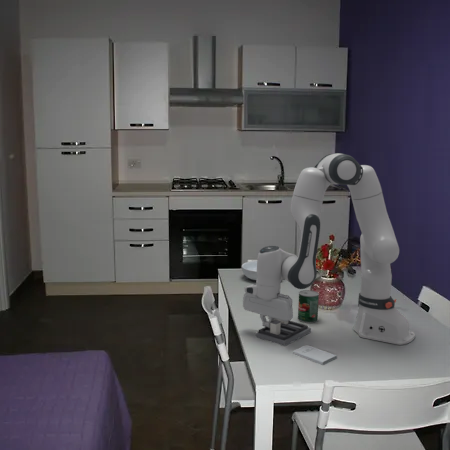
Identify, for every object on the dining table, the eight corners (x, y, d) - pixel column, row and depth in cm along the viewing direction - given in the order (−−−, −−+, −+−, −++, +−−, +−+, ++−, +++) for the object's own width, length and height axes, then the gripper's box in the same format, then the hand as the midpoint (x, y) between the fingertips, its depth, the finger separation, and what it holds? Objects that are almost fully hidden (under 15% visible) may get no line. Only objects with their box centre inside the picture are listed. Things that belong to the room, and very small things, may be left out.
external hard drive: (322, 366, 186) (292, 354, 195) (336, 359, 192) (307, 348, 200) (322, 362, 186) (292, 350, 194) (337, 355, 191) (307, 344, 200)
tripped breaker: (280, 333, 207) (280, 321, 207) (275, 336, 205) (276, 323, 204) (274, 332, 209) (275, 319, 208) (270, 334, 207) (270, 321, 206)
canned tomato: (320, 318, 229) (322, 292, 227) (312, 324, 222) (313, 297, 220) (302, 314, 233) (304, 288, 231) (294, 320, 227) (295, 293, 225)
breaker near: (288, 323, 218) (288, 311, 217) (284, 325, 216) (284, 313, 215) (283, 321, 220) (283, 310, 219) (278, 324, 217) (279, 312, 216)
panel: (310, 331, 214) (311, 325, 214) (284, 346, 201) (284, 339, 200) (281, 323, 222) (282, 317, 222) (254, 336, 209) (255, 330, 208)
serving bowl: (237, 274, 292) (237, 261, 290) (277, 272, 296) (277, 260, 294) (246, 285, 272) (246, 271, 270) (288, 284, 275) (289, 270, 274)
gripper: (297, 294, 203) (295, 331, 205) (251, 283, 215) (250, 318, 218) (287, 298, 198) (285, 336, 200) (240, 286, 210) (240, 322, 213)
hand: (266, 326), depth 209 cm, fingers closed
